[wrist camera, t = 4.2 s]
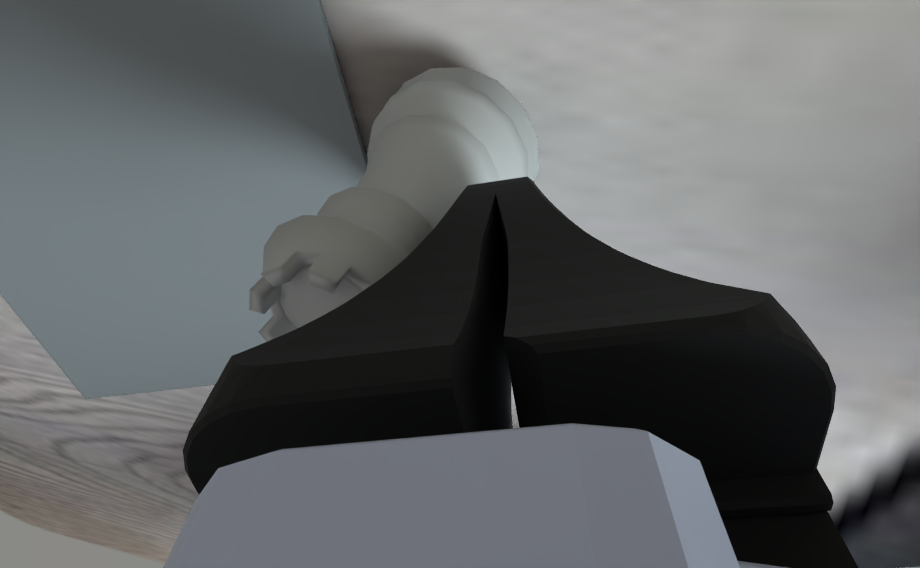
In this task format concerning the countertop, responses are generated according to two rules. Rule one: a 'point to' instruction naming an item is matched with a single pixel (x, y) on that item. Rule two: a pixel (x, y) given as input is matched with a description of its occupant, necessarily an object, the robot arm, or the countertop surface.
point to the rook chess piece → (395, 193)
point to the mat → (159, 175)
